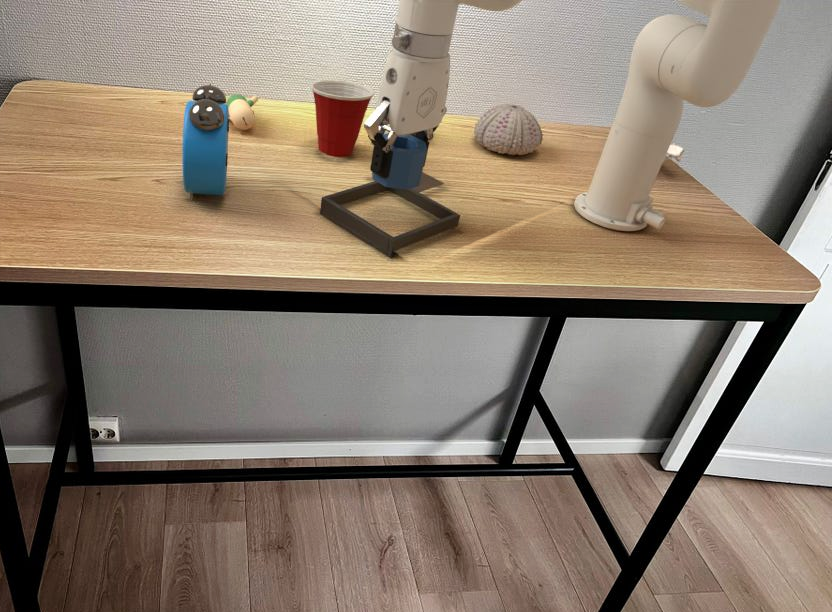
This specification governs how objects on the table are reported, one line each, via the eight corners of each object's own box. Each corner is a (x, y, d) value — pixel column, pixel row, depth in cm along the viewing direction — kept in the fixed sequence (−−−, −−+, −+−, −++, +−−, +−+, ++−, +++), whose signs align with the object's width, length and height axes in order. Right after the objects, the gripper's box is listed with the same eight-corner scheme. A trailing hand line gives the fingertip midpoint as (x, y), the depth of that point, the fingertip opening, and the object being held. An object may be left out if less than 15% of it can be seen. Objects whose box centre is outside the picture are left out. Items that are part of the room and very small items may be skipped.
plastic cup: (353, 141, 135) (362, 76, 127) (372, 167, 127) (383, 98, 120) (297, 141, 131) (303, 74, 124) (313, 167, 123) (320, 97, 116)
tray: (456, 231, 112) (460, 215, 110) (390, 258, 103) (393, 240, 101) (387, 192, 120) (389, 176, 118) (319, 213, 111) (321, 196, 109)
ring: (428, 183, 107) (436, 147, 104) (396, 193, 103) (403, 156, 100) (394, 164, 111) (400, 129, 107) (362, 173, 107) (367, 137, 103)
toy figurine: (220, 121, 139) (229, 143, 130) (210, 99, 136) (218, 120, 127) (259, 104, 139) (271, 124, 130) (250, 81, 136) (261, 101, 127)
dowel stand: (443, 188, 124) (453, 146, 119) (408, 200, 118) (417, 156, 114) (405, 168, 128) (413, 126, 124) (369, 179, 123) (376, 135, 118)
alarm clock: (189, 170, 116) (189, 75, 107) (228, 174, 117) (231, 79, 108) (182, 209, 106) (181, 107, 97) (225, 212, 107) (228, 111, 98)
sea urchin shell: (459, 144, 141) (468, 103, 136) (488, 128, 150) (498, 89, 145) (521, 167, 136) (533, 125, 131) (547, 148, 145) (560, 109, 140)
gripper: (397, 57, 88) (374, 192, 99) (483, 44, 98) (454, 167, 109) (354, 39, 92) (337, 170, 103) (442, 28, 102) (417, 149, 113)
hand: (397, 168), depth 106 cm, fingers closed on ring, 7 cm apart
